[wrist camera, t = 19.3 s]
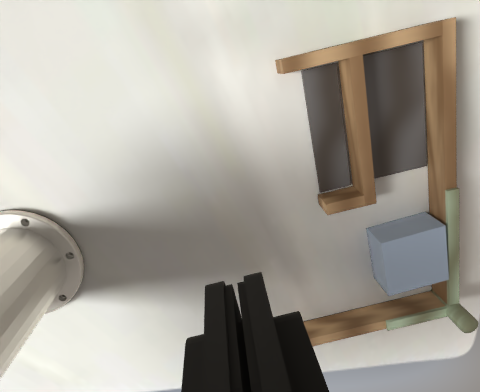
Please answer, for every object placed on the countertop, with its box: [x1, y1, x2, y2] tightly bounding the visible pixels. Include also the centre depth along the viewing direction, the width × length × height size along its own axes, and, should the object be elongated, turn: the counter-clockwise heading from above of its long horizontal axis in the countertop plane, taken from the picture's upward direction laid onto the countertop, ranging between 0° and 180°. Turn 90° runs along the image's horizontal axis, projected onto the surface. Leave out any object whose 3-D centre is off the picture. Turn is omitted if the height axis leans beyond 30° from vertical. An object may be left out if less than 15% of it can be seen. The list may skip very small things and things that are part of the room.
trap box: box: [275, 17, 478, 346], centre depth 36 cm, size 26×33×6 cm
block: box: [366, 212, 449, 296], centre depth 40 cm, size 7×7×4 cm
